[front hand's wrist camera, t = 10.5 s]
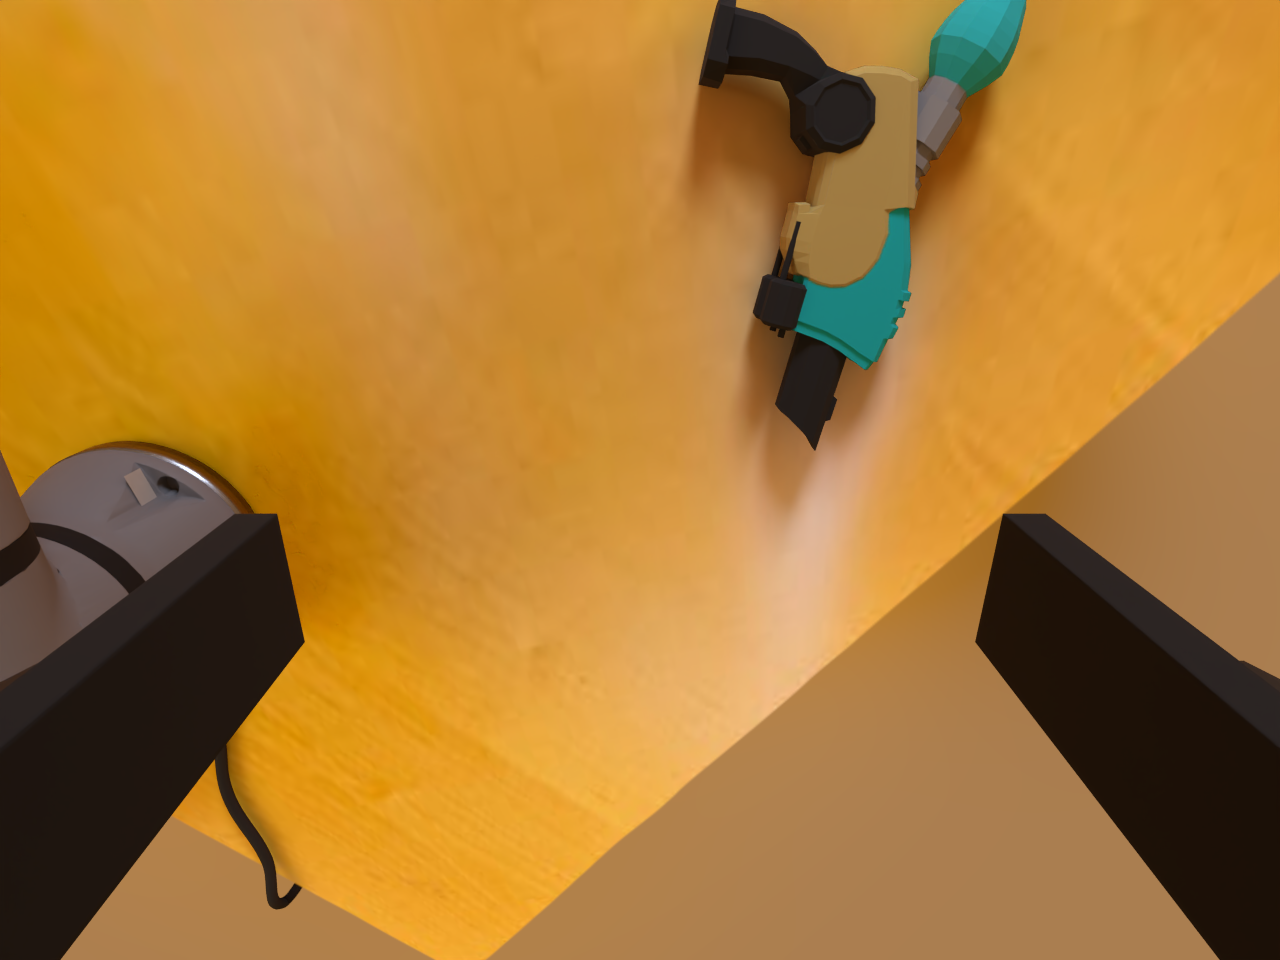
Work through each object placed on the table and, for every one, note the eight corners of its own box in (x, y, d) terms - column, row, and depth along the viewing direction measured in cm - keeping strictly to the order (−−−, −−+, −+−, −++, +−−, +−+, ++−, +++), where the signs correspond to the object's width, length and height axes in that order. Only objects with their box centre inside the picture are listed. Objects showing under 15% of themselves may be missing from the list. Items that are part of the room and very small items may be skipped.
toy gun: (626, 419, 39) (874, 472, 41) (750, -131, 30) (1063, -40, 32) (627, 399, 43) (851, 448, 45) (736, -90, 34) (1014, -11, 36)
